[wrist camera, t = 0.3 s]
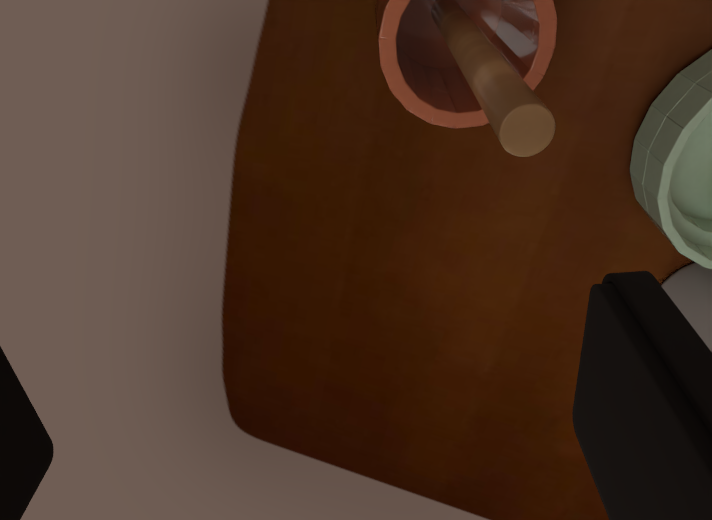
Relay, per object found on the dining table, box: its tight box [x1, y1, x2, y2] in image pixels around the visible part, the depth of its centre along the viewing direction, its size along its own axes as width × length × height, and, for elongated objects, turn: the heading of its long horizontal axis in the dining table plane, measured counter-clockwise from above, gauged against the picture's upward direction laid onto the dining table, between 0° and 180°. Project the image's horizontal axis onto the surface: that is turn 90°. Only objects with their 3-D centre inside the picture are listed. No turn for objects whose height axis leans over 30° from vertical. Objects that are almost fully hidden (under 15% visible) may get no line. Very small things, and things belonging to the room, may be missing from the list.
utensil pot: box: [375, 0, 557, 128], centre depth 30 cm, size 8×8×9 cm
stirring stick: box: [431, 0, 555, 157], centre depth 25 cm, size 2×2×20 cm
